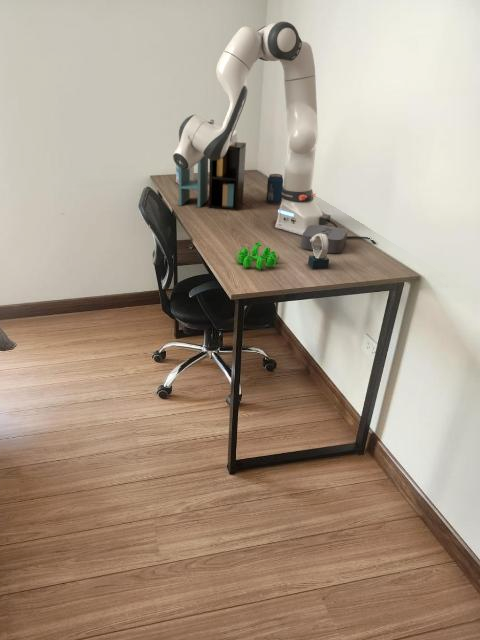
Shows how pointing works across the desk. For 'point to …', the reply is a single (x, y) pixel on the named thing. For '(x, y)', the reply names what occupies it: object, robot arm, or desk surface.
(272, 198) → the soda can
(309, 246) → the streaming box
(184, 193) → the stand
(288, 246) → the desk surface
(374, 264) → the desk surface
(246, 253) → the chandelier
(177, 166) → the light bulb box
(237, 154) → the shelf
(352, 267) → the desk surface
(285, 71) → the robot arm
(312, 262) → the watch
